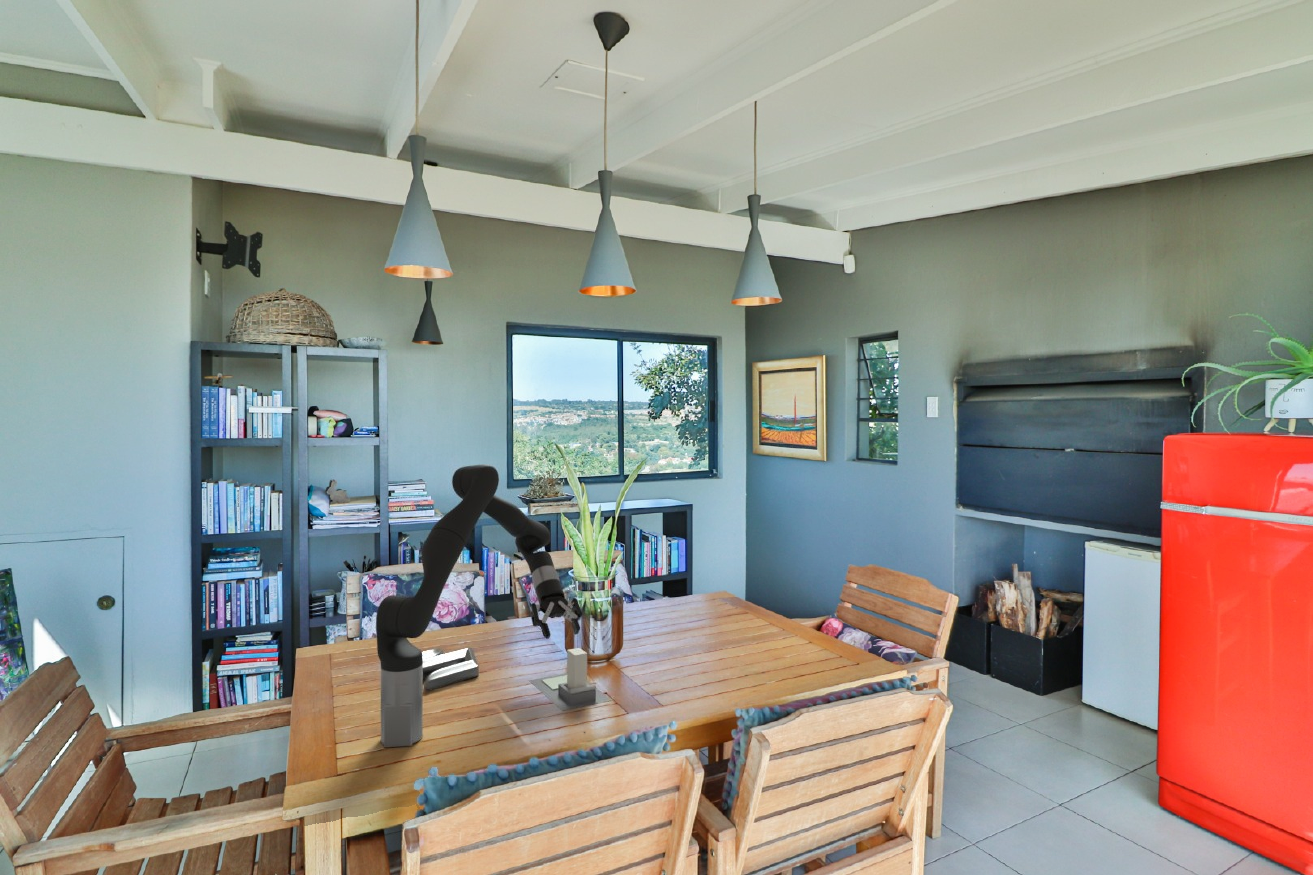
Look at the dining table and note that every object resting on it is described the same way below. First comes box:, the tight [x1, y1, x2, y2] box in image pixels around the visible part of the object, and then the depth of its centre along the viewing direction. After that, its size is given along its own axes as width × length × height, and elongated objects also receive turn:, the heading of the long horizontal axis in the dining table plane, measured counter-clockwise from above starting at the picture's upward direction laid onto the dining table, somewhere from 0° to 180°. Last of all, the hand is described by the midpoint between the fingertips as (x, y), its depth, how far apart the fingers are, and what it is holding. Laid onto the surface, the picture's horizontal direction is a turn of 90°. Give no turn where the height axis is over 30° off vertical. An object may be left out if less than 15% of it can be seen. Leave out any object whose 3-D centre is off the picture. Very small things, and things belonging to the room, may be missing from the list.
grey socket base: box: [528, 672, 613, 712], centre depth 196 cm, size 14×24×5 cm, turn 31°
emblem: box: [421, 647, 480, 692], centre depth 211 cm, size 28×5×28 cm
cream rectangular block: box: [566, 647, 588, 690], centre depth 191 cm, size 4×5×12 cm
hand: (563, 635), depth 199 cm, fingers open, 8 cm apart
